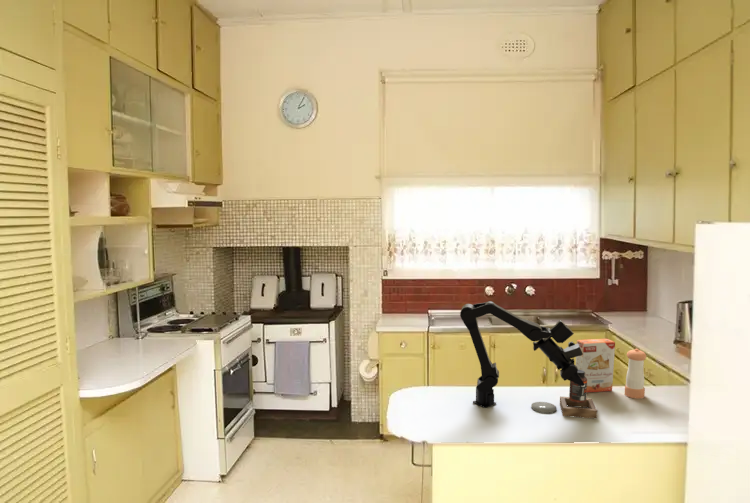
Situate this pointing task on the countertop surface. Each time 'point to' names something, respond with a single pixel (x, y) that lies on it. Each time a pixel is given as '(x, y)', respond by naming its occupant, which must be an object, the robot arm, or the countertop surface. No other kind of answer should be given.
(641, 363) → the pepper shaker
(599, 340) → the cracker box
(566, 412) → the walnut holder
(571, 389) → the supplement bottle
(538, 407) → the grey round disc
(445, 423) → the countertop surface
